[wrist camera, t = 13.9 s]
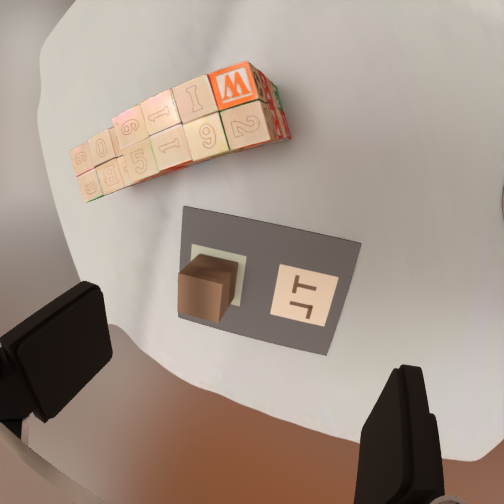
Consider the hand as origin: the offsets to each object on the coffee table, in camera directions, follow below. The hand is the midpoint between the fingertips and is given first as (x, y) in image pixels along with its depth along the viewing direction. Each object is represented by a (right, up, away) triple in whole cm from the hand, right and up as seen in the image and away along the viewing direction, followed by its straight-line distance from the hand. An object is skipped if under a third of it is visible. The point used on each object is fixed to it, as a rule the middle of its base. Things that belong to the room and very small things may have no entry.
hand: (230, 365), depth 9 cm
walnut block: (-4, 0, +31) cm, 31 cm away
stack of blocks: (-6, +16, +26) cm, 31 cm away
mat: (+2, -1, +30) cm, 30 cm away
